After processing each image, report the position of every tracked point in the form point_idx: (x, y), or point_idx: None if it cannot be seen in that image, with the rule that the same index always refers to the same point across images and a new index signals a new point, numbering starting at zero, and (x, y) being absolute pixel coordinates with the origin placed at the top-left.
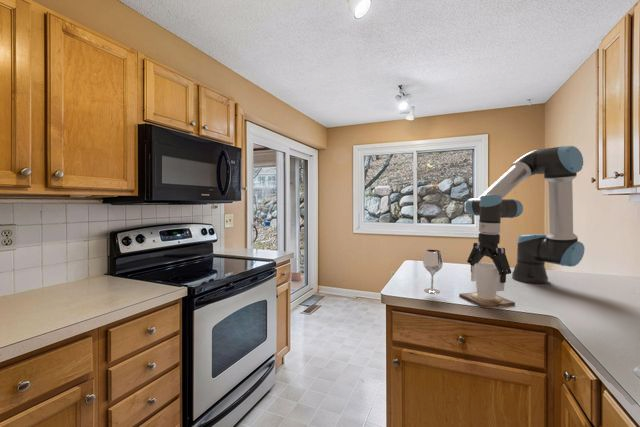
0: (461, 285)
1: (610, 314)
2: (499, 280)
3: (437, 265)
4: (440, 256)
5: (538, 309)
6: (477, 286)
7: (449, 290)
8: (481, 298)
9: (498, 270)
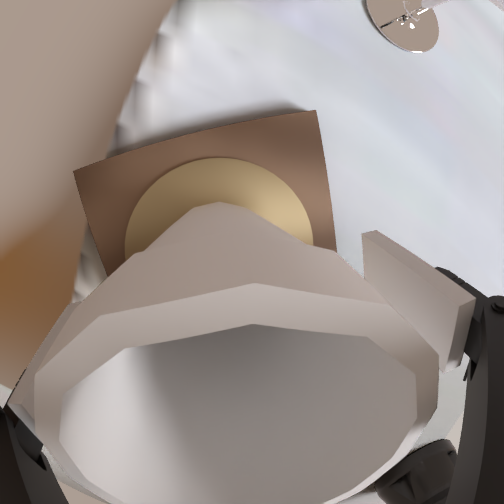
0: (468, 245)
1: None
2: (35, 365)
3: None
4: None
5: None
6: (225, 209)
7: (419, 122)
8: (188, 208)
9: (6, 439)
